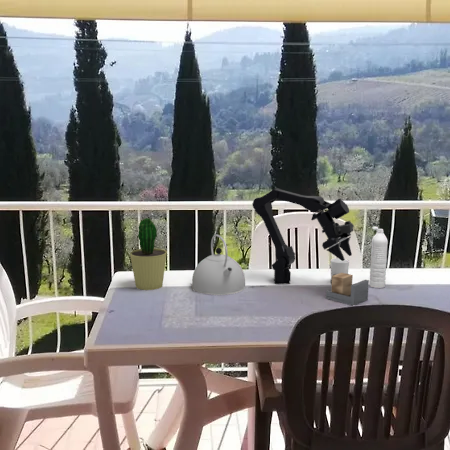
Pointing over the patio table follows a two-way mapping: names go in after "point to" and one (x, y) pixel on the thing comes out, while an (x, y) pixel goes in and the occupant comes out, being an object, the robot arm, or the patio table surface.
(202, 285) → the kettle
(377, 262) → the water bottle
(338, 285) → the tan box
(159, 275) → the potted cactus
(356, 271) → the patio table surface
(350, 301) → the grey open holder
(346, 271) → the white cup
